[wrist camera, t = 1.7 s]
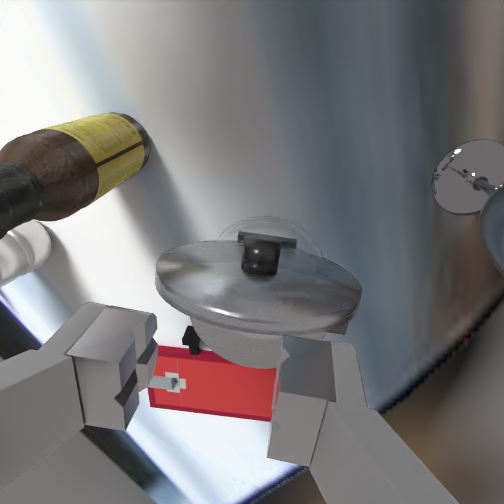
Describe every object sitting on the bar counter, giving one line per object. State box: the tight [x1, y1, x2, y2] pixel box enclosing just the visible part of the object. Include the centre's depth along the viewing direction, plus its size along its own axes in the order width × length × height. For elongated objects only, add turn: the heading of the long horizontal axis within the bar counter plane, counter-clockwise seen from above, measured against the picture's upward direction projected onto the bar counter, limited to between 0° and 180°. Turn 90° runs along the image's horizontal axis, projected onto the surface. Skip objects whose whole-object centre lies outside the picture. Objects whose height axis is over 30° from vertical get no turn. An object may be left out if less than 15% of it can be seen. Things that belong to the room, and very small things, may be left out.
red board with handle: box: [148, 326, 277, 422], centre depth 48 cm, size 30×3×15 cm
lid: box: [155, 234, 362, 336], centre depth 23 cm, size 13×13×3 cm
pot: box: [190, 217, 349, 369], centre depth 36 cm, size 14×17×8 cm
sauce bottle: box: [0, 113, 150, 240], centre depth 27 cm, size 6×6×20 cm
